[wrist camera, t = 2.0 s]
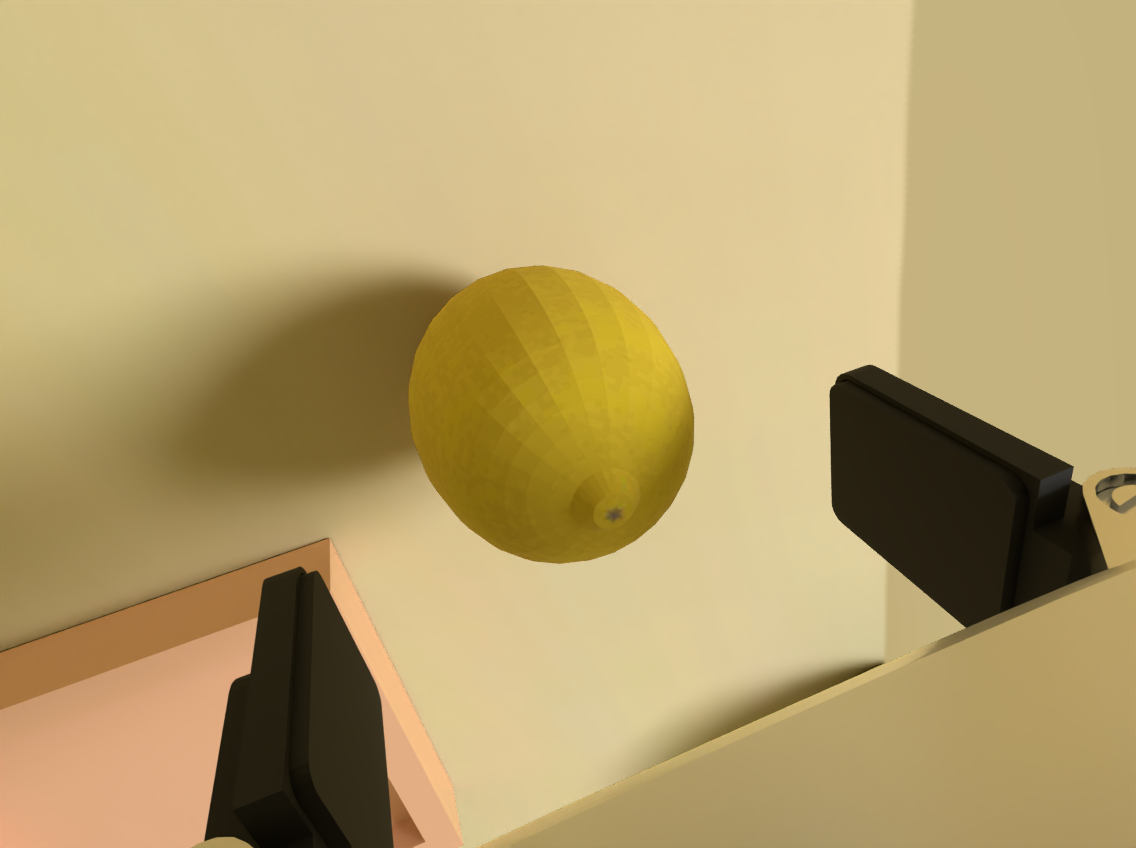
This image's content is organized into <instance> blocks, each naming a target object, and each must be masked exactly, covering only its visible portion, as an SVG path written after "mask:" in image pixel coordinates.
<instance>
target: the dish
mask: <svg viewBox="0 0 1136 848" xmlns="http://www.w3.org/2000/svg"><path fill="white" fill-rule="evenodd" d="M299 566H300V567H303V569H304V570H305V571H306V572H307V573H310V572H312V571H315V570H316V571H318V572H319V573H320V575H321V576H322V578H323V580H324V582H325V584H326V586H327V588H328V590H329V592H330V594H331V596H332V598H333V600H334V602H335V604H336V606H337V608H338V610H339V612H340V614H341V616H342V617H343V619H344V621H345V623H346V625H347V627H348V629H349V631H350V633H351V635H352V637H353V639H354V641H355V643H356V645H357V647H358V649H359V651H360V653H361V655H362V657H363V659H364V661H365V663H366V665H367V667H368V669H369V671H370V673H371V674H372V676H373V678H374V680H375V683H376V685H377V688H378V691H379V694H380V698H381V704H382V715H383V726H384V738H385V750H386V762H387V773H388V785H389V797H390V808H391V820H392V832H393V844H394V848H458V847H460V846H462V845H463V840H462V835H461V829H460V824H459V818H458V813H457V807H456V801H455V796H454V790H453V786H452V784H451V782H450V780H449V778H448V776H447V774H446V772H445V770H444V768H443V766H442V764H441V762H440V760H439V758H438V755H437V753H436V751H435V749H434V747H433V745H432V743H431V741H430V739H429V737H428V735H427V733H426V731H425V729H424V727H423V725H422V723H421V721H420V719H419V717H418V715H417V713H416V711H415V709H414V707H413V705H412V703H411V701H410V699H409V697H408V695H407V693H406V691H405V689H404V687H403V685H402V683H401V681H400V679H399V677H398V675H397V673H396V671H395V669H394V667H393V665H392V663H391V661H390V659H389V657H388V655H387V653H386V651H385V649H384V647H383V645H382V643H381V641H380V639H379V636H378V634H377V632H376V630H375V628H374V626H373V624H372V622H371V620H370V618H369V616H368V614H367V612H366V610H365V608H364V606H363V604H362V602H361V600H360V598H359V596H358V594H357V592H356V590H355V588H354V586H353V584H352V582H351V580H350V578H349V576H348V574H347V572H346V570H345V568H344V566H343V564H342V562H341V560H340V558H339V556H338V554H337V552H336V550H335V548H334V546H333V544H332V542H331V540H330V538H328V539H325V540H323V541H320V542H317V543H314V544H311V545H308V546H305V547H302V548H300V549H297V550H294V551H291V552H288V553H285V554H282V555H279V556H277V557H274V558H271V559H268V560H265V561H262V562H259V563H256V564H254V565H251V566H248V567H245V568H242V569H239V570H236V571H233V572H231V573H228V574H225V575H222V576H219V577H216V578H213V579H210V580H208V581H205V582H202V583H199V584H196V585H193V586H190V587H187V588H185V589H182V590H179V591H176V592H173V593H170V594H167V595H164V596H162V597H159V598H156V599H153V600H150V601H147V602H144V603H141V604H139V605H136V606H133V607H130V608H127V609H124V610H121V611H118V612H116V613H113V614H110V615H107V616H104V617H101V618H98V619H95V620H93V621H90V622H87V623H84V624H81V625H78V626H75V627H72V628H70V629H67V630H64V631H61V632H58V633H55V634H52V635H49V636H47V637H44V638H41V639H38V640H35V641H32V642H29V643H26V644H24V645H21V646H18V647H15V648H12V649H9V650H6V651H3V652H1V653H0V848H191V847H193V846H195V845H196V844H198V843H201V842H204V838H205V832H206V826H207V820H208V814H209V808H210V802H211V796H212V790H213V784H214V778H215V772H216V766H217V760H218V754H219V748H220V742H221V736H222V730H223V724H224V718H225V712H226V706H227V700H228V694H229V690H230V687H231V684H232V682H233V681H234V680H235V679H237V678H239V677H242V676H245V675H247V674H250V672H251V665H252V657H253V650H254V643H255V635H256V628H257V620H258V613H259V606H260V598H261V591H262V584H263V581H264V580H265V579H266V578H268V577H271V576H274V575H277V574H280V573H283V572H285V571H288V570H291V569H294V568H297V567H299Z"/></svg>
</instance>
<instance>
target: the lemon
mask: <svg viewBox="0 0 1136 848" xmlns="http://www.w3.org/2000/svg"><path fill="white" fill-rule="evenodd" d="M408 400H409V414H410V428H411V433H412V437H413V440H414V443H415V446H416V448H417V451H418V453H419V456H420V459H421V461H422V464H423V467H424V469H425V472H426V474H427V476H428V478H429V480H430V482H431V483H432V485H433V486H434V488H435V489H436V490H437V492H438V493H439V494H440V496H441V497H442V498H443V499H444V501H445V502H446V503H447V504H448V506H449V507H450V508H451V509H452V511H453V512H454V513H455V514H456V516H457V517H458V518H459V519H460V520H461V521H462V522H463V523H464V524H465V525H466V526H467V527H468V528H469V529H471V530H472V531H473V532H475V533H476V534H478V535H479V536H481V537H482V538H483V539H485V540H486V541H488V542H489V543H490V544H492V545H493V546H495V547H497V548H498V549H500V550H502V551H505V552H508V553H511V554H513V555H516V556H519V557H522V558H524V559H528V560H532V561H537V562H547V563H558V564H561V563H570V562H578V561H587V560H592V559H595V558H598V557H602V556H605V555H608V554H611V553H614V552H616V551H617V550H619V549H621V548H623V547H625V546H626V545H628V544H630V543H632V542H634V541H635V540H637V539H638V538H639V537H640V536H642V535H643V534H644V533H645V532H646V531H648V530H649V529H650V528H651V527H652V526H654V525H655V524H656V523H657V521H658V520H659V519H660V518H661V517H662V515H663V514H664V513H665V512H666V511H667V509H668V508H669V507H670V506H671V504H672V502H673V501H674V499H675V497H676V495H677V493H678V491H679V489H680V487H681V486H682V484H683V482H684V480H685V478H686V474H687V471H688V467H689V463H690V459H691V456H692V451H693V445H694V413H693V406H692V403H691V399H690V395H689V392H688V388H687V385H686V381H685V378H684V375H683V372H682V369H681V367H680V365H679V363H678V361H677V359H676V357H675V356H674V354H673V352H672V351H671V349H670V348H669V346H668V344H667V343H666V341H665V340H664V338H663V336H662V335H661V333H660V332H659V330H658V328H657V327H656V326H655V324H654V323H653V322H652V320H651V319H650V318H649V317H648V316H647V315H646V314H645V313H643V312H642V311H641V310H640V309H639V308H638V307H637V306H636V305H634V304H633V303H632V302H631V301H630V300H629V299H628V298H626V297H625V296H624V295H623V294H622V293H621V292H619V291H618V290H616V289H615V288H613V287H611V286H609V285H607V284H605V283H602V282H600V281H598V280H596V279H594V278H591V277H589V276H587V275H585V274H583V273H580V272H578V271H573V270H568V269H561V268H555V267H548V266H530V267H520V268H510V269H505V270H502V271H500V272H497V273H494V274H492V275H489V276H486V277H484V278H481V279H478V280H477V281H475V282H474V283H472V284H471V285H469V286H468V287H466V288H465V289H464V290H462V291H461V292H459V293H458V294H456V295H455V296H453V297H452V298H451V299H450V300H449V302H448V303H447V304H446V305H445V306H444V307H443V308H442V309H441V310H440V312H439V313H438V314H437V315H436V316H435V317H434V318H433V319H432V321H431V323H430V325H429V327H428V329H427V331H426V333H425V335H424V336H423V338H422V340H421V342H420V344H419V346H418V348H417V350H416V353H415V358H414V363H413V367H412V372H411V377H410V382H409V387H408Z"/></svg>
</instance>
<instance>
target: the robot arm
mask: <svg viewBox="0 0 1136 848" xmlns="http://www.w3.org/2000/svg"><path fill="white" fill-rule="evenodd" d="M830 438H831V490H832V507H833V510H834V513H835V515H836V516H837V518H838V519H839V520H840V521H841V522H842V523H843V524H844V525H845V526H846V527H847V528H849V529H850V530H851V531H852V532H853V533H854V534H856V535H857V536H858V537H859V538H860V539H862V540H863V541H864V542H865V543H866V544H867V545H869V546H870V547H871V548H872V549H873V550H875V551H876V552H877V553H878V554H879V555H881V556H882V557H883V558H884V559H885V560H886V561H888V562H889V563H890V564H891V565H892V566H894V567H895V568H896V569H897V570H898V571H900V572H901V573H902V574H903V575H904V576H905V577H907V578H908V579H909V580H910V581H911V582H913V583H914V584H915V585H916V586H917V587H919V588H920V589H921V590H922V591H923V592H924V593H926V594H927V595H928V596H929V597H930V598H931V599H933V600H934V601H935V602H936V603H937V604H939V605H940V606H941V607H942V608H943V609H944V610H946V611H947V612H948V613H949V614H950V615H952V616H953V617H954V618H955V619H956V620H958V621H959V622H960V623H961V624H962V625H964V626H965V627H966V628H965V629H963V630H961V631H958V632H956V633H954V634H952V635H950V636H947V637H945V638H942V639H940V640H938V641H935V642H933V643H931V644H929V645H926V646H924V647H922V648H919V649H917V650H915V651H912V652H910V653H908V654H906V655H903V656H901V657H899V658H896V659H894V660H892V661H890V662H887V663H885V664H883V665H880V666H878V667H876V668H874V669H871V670H869V671H867V672H865V673H862V674H860V675H858V676H856V677H853V678H851V679H849V680H846V681H844V682H842V683H840V684H837V685H835V686H833V687H831V688H828V689H826V690H824V691H822V692H819V693H817V694H815V695H813V696H810V697H808V698H806V699H804V700H801V701H799V702H797V703H794V704H792V705H790V706H788V707H785V708H783V709H781V710H779V711H776V712H774V713H772V714H770V715H767V716H765V717H763V718H761V719H758V720H756V721H754V722H752V723H749V724H747V725H745V726H743V727H740V728H738V729H736V730H734V731H731V732H729V733H727V734H725V735H722V736H720V737H718V738H716V739H713V740H711V741H709V742H707V743H705V744H702V745H700V746H698V747H696V748H693V749H691V750H689V751H687V752H685V753H682V754H680V755H678V756H676V757H673V758H671V759H669V760H667V761H665V762H662V763H660V764H658V765H656V766H653V767H651V768H649V769H647V770H645V771H642V772H640V773H638V774H636V775H633V776H631V777H629V778H627V779H625V780H622V781H620V782H618V783H616V784H613V785H611V786H609V787H607V788H605V789H602V790H600V791H598V792H596V793H593V794H591V795H589V796H587V797H585V798H582V799H580V800H578V801H576V802H573V803H571V804H569V805H567V806H565V807H562V808H560V809H558V810H556V811H554V812H552V813H549V814H547V815H545V816H543V817H541V818H539V819H537V820H535V821H532V822H530V823H528V824H526V825H524V826H522V827H520V828H517V829H515V830H513V831H511V832H509V833H507V834H505V835H503V836H500V837H498V838H496V839H494V840H492V841H490V842H488V843H486V844H483V845H481V846H479V847H477V848H1136V468H1112V469H1108V470H1103V471H1099V472H1097V473H1095V474H1093V475H1091V476H1089V477H1088V478H1087V479H1086V481H1085V482H1084V483H1083V485H1080V484H1078V483H1076V482H1074V481H1072V480H1071V478H1072V473H1073V468H1074V467H1073V466H1071V465H1069V464H1067V463H1065V462H1063V461H1061V460H1060V459H1058V458H1056V457H1053V456H1052V455H1049V454H1048V453H1046V452H1044V451H1042V450H1040V449H1038V448H1036V447H1034V446H1032V445H1030V444H1028V443H1026V442H1024V441H1022V440H1020V439H1018V438H1016V437H1014V436H1012V435H1010V434H1008V433H1006V432H1004V431H1002V430H1000V429H998V428H996V427H994V426H992V425H990V424H988V423H986V422H984V421H982V420H981V419H979V418H977V417H975V416H973V415H970V414H969V413H967V412H965V411H963V410H961V409H959V408H957V407H955V406H953V405H951V404H949V403H947V402H945V401H943V400H941V399H939V398H937V397H935V396H933V395H931V394H929V393H927V392H925V391H923V390H921V389H919V388H917V387H915V386H913V385H911V384H909V383H907V382H905V381H903V380H901V379H899V378H898V377H896V376H894V375H892V374H890V373H888V372H886V371H884V370H882V369H880V368H878V367H876V366H873V365H866V366H863V367H860V368H857V369H855V370H852V371H849V372H846V373H843V374H841V375H840V376H838V377H837V380H836V383H835V385H834V386H832V387H831V390H830ZM191 848H394V844H393V832H392V820H391V808H390V797H389V785H388V773H387V762H386V750H385V738H384V726H383V715H382V704H381V698H380V694H379V691H378V688H377V685H376V683H375V680H374V678H373V676H372V674H371V673H370V671H369V669H368V667H367V665H366V663H365V661H364V659H363V657H362V655H361V653H360V651H359V649H358V647H357V645H356V643H355V641H354V639H353V637H352V635H351V633H350V631H349V629H348V627H347V625H346V623H345V621H344V619H343V617H342V616H341V614H340V612H339V610H338V608H337V606H336V604H335V602H334V600H333V598H332V596H331V594H330V592H329V590H328V588H327V586H326V584H325V582H324V580H323V578H322V576H321V575H320V573H319V572H318V571H316V570H315V571H312V572H310V573H307V572H306V571H305V570H304V569H303V567H300V566H299V567H297V568H294V569H291V570H288V571H285V572H283V573H280V574H277V575H274V576H271V577H268V578H266V579H265V580H264V581H263V584H262V591H261V598H260V606H259V613H258V620H257V628H256V635H255V643H254V650H253V657H252V665H251V672H250V674H247V675H245V676H242V677H239V678H237V679H235V680H234V681H233V682H232V684H231V687H230V690H229V694H228V700H227V706H226V712H225V718H224V724H223V730H222V736H221V742H220V748H219V754H218V760H217V766H216V772H215V778H214V784H213V790H212V796H211V802H210V808H209V814H208V820H207V826H206V832H205V838H204V842H201V843H198V844H196V845H195V846H193V847H191Z"/></svg>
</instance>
